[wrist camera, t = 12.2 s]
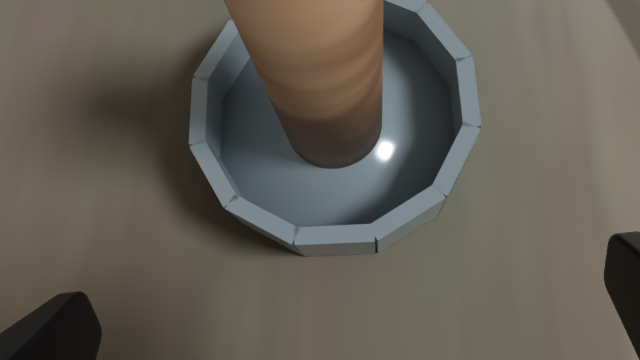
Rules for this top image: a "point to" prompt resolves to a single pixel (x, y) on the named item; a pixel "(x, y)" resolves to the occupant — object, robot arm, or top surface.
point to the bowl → (353, 181)
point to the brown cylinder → (319, 72)
